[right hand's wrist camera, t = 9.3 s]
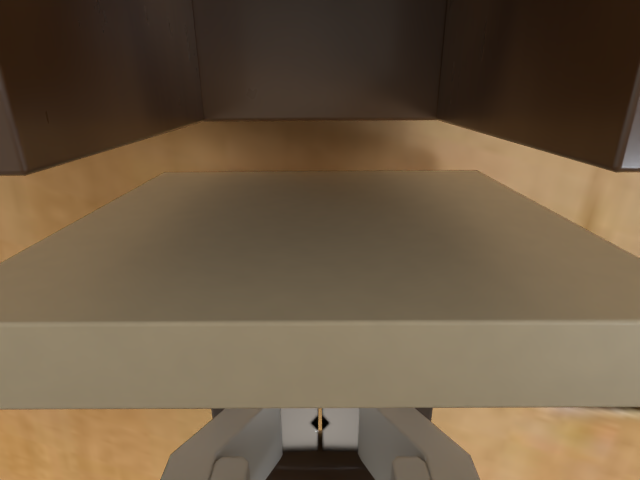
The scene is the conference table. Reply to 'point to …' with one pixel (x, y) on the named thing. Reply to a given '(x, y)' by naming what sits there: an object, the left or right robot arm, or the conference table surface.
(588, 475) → the conference table surface
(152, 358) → the drawer
